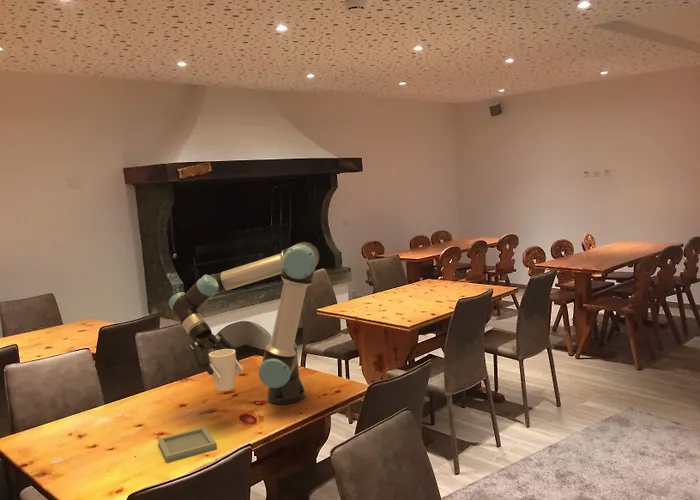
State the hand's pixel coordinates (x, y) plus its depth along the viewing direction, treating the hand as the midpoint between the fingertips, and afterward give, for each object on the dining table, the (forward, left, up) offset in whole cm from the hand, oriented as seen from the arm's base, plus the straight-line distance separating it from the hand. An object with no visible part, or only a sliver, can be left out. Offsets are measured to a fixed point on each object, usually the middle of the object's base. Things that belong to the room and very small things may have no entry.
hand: (230, 375), depth 203 cm
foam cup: (+1, -3, -5) cm, 6 cm away
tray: (+18, +6, -19) cm, 27 cm away
